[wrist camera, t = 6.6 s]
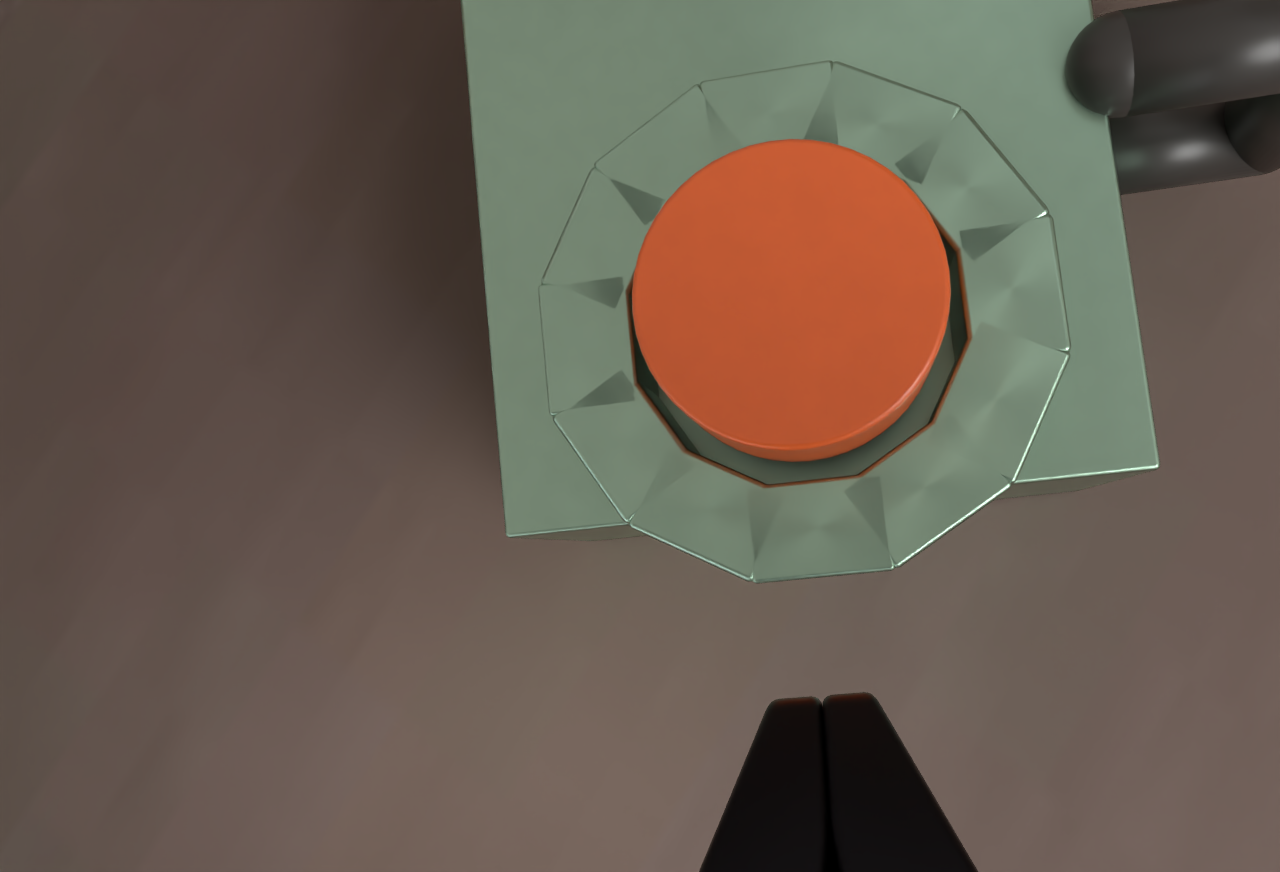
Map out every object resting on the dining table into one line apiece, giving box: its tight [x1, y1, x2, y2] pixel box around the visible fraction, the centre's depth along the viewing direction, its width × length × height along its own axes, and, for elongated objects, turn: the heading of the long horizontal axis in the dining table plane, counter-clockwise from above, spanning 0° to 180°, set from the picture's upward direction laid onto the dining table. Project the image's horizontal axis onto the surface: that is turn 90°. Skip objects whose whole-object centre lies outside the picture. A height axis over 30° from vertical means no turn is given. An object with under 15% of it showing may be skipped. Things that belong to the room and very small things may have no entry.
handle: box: [1065, 0, 1280, 195], centre depth 18 cm, size 1×4×5 cm, turn 96°
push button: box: [632, 139, 951, 462], centre depth 14 cm, size 4×4×2 cm
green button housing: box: [461, 0, 1160, 583], centre depth 19 cm, size 12×9×8 cm
